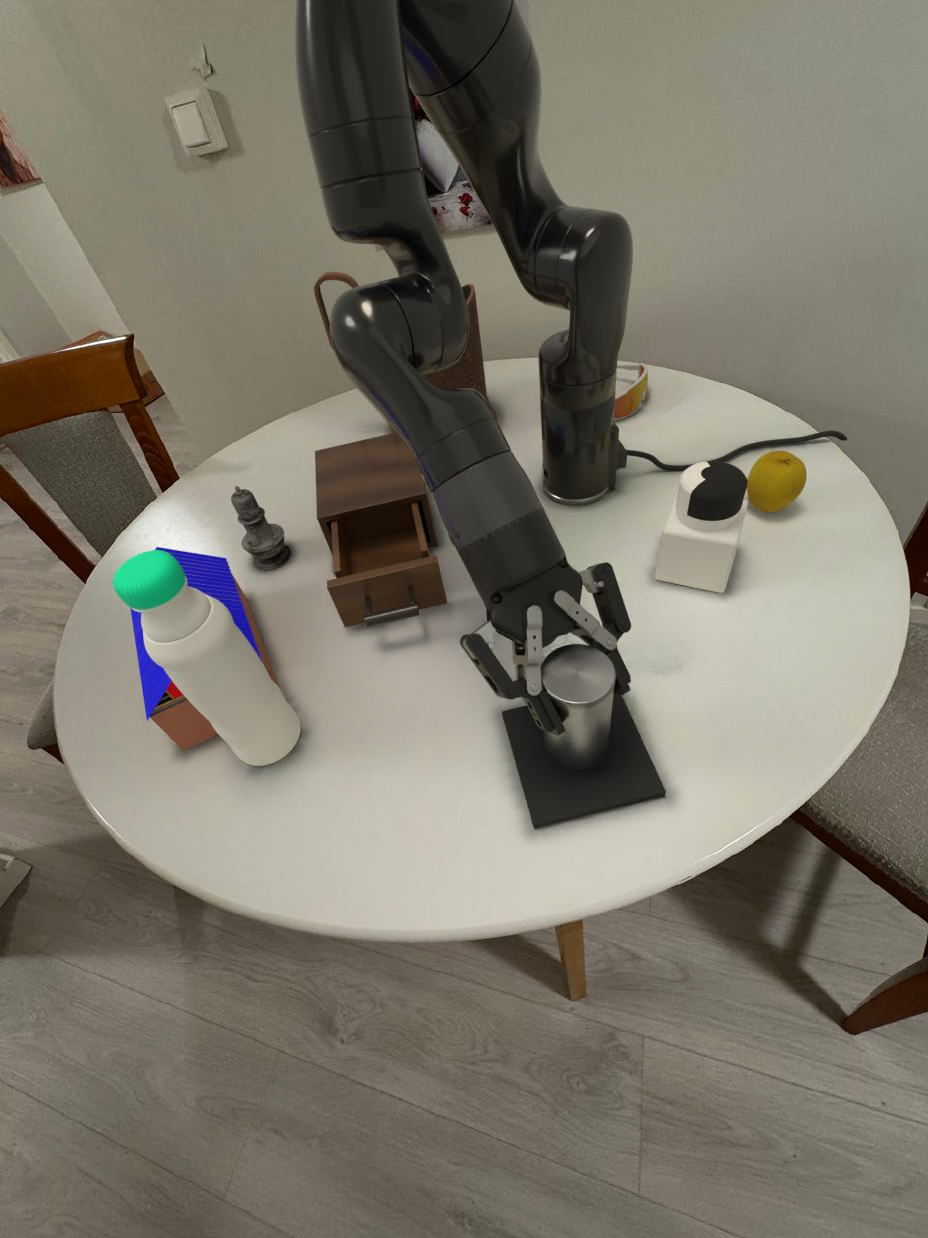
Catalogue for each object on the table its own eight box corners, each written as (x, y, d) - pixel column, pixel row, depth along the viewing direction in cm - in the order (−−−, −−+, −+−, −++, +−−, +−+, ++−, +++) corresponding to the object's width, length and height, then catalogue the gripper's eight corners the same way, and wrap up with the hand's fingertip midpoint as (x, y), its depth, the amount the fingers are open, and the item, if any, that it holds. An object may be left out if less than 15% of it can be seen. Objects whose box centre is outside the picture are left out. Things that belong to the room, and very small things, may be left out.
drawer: (454, 629, 67) (444, 587, 62) (346, 654, 66) (327, 614, 61) (429, 528, 79) (419, 486, 74) (339, 549, 79) (323, 509, 74)
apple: (777, 529, 71) (796, 474, 66) (730, 508, 75) (744, 455, 69) (805, 503, 74) (826, 448, 68) (758, 485, 77) (773, 431, 71)
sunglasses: (629, 429, 90) (627, 398, 86) (543, 425, 98) (538, 397, 94) (661, 385, 97) (660, 355, 94) (578, 385, 105) (574, 357, 102)
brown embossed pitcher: (499, 449, 91) (480, 274, 73) (351, 465, 94) (296, 302, 76) (496, 391, 104) (480, 229, 85) (365, 407, 106) (322, 254, 88)
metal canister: (595, 708, 56) (600, 635, 48) (618, 762, 52) (627, 693, 44) (536, 722, 56) (530, 652, 48) (554, 778, 52) (551, 712, 44)
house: (180, 754, 62) (117, 692, 53) (158, 633, 74) (103, 567, 66) (287, 703, 64) (243, 635, 56) (248, 595, 77) (207, 526, 68)
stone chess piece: (283, 572, 79) (246, 501, 70) (245, 570, 80) (204, 500, 71) (299, 543, 83) (266, 472, 74) (262, 542, 84) (226, 471, 75)
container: (734, 550, 70) (760, 457, 60) (723, 595, 66) (750, 502, 56) (668, 538, 73) (683, 448, 63) (654, 580, 69) (667, 490, 59)
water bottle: (241, 716, 64) (106, 545, 45) (304, 704, 64) (195, 528, 45) (233, 774, 59) (79, 610, 41) (301, 761, 59) (177, 591, 40)
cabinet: (438, 546, 78) (426, 492, 72) (338, 569, 78) (316, 518, 71) (422, 480, 89) (410, 428, 82) (333, 501, 88) (314, 450, 82)
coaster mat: (615, 688, 60) (616, 683, 59) (665, 796, 52) (666, 792, 51) (502, 716, 59) (501, 711, 59) (533, 829, 51) (533, 824, 51)
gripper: (428, 558, 40) (535, 768, 42) (593, 475, 44) (686, 671, 45) (409, 571, 48) (501, 749, 49) (552, 499, 51) (633, 667, 53)
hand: (590, 711), depth 47 cm, fingers closed on metal canister, 6 cm apart
